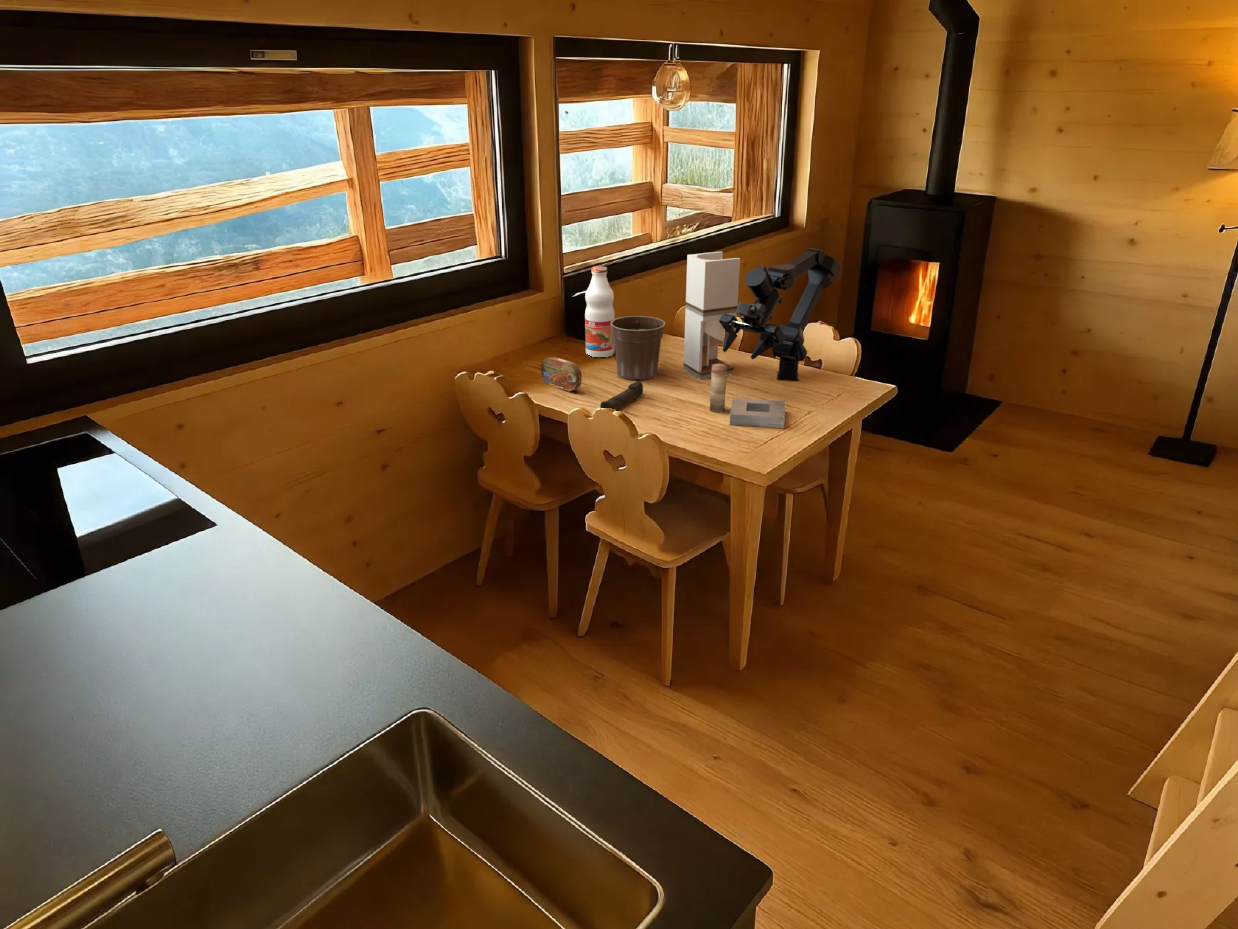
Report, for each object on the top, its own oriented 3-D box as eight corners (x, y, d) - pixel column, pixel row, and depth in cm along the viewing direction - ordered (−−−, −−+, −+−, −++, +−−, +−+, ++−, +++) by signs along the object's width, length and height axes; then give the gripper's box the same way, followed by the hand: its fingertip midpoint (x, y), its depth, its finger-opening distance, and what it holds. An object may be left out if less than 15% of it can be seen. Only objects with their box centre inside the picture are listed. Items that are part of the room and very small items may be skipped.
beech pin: (710, 406, 233) (712, 363, 227) (724, 407, 232) (727, 364, 227) (709, 412, 229) (711, 368, 224) (723, 412, 228) (726, 369, 223)
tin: (540, 382, 250) (539, 355, 247) (548, 379, 252) (547, 352, 249) (576, 394, 241) (575, 366, 237) (583, 392, 243) (583, 364, 240)
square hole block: (732, 407, 232) (732, 397, 230) (783, 411, 229) (784, 401, 228) (729, 424, 221) (730, 414, 220) (783, 428, 219) (784, 417, 217)
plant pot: (630, 362, 267) (630, 312, 260) (674, 371, 259) (675, 320, 252) (600, 376, 255) (599, 324, 248) (645, 387, 247) (645, 333, 240)
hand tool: (611, 417, 226) (611, 401, 224) (599, 414, 228) (599, 397, 226) (650, 396, 240) (650, 381, 238) (638, 393, 242) (639, 378, 240)
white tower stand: (700, 379, 252) (705, 261, 237) (683, 368, 261) (687, 254, 246) (733, 374, 257) (740, 258, 241) (715, 363, 265) (721, 251, 250)
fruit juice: (620, 353, 275) (620, 267, 263) (602, 360, 268) (601, 272, 256) (598, 347, 280) (597, 263, 268) (579, 354, 274) (577, 268, 262)
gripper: (724, 284, 232) (698, 332, 229) (783, 296, 221) (756, 346, 218) (739, 307, 241) (714, 353, 238) (796, 319, 229) (770, 368, 227)
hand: (737, 354), depth 230 cm, fingers open, 9 cm apart
